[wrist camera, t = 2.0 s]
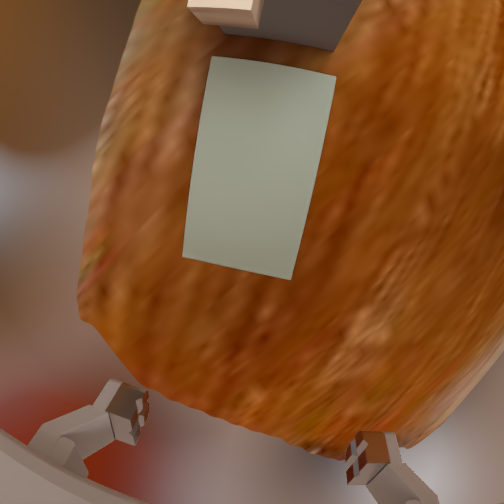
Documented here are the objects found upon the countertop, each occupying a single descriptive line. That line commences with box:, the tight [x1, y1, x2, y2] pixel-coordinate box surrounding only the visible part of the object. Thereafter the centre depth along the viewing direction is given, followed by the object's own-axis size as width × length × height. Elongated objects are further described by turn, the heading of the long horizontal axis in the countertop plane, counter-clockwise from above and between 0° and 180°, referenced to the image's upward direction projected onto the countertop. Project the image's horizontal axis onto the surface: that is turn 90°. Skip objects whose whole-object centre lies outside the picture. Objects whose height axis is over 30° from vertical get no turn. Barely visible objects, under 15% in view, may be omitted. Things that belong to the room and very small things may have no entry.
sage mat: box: [182, 56, 336, 280], centre depth 46 cm, size 32×18×1 cm, turn 170°
